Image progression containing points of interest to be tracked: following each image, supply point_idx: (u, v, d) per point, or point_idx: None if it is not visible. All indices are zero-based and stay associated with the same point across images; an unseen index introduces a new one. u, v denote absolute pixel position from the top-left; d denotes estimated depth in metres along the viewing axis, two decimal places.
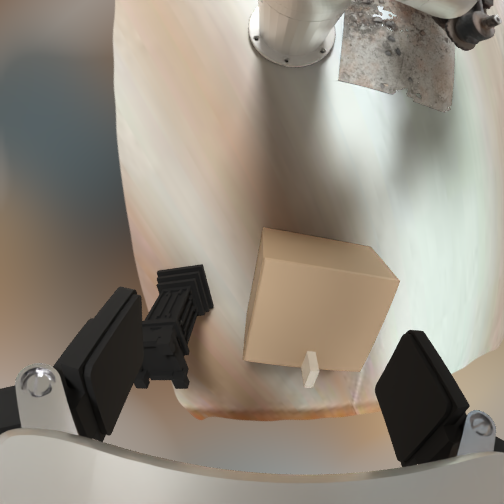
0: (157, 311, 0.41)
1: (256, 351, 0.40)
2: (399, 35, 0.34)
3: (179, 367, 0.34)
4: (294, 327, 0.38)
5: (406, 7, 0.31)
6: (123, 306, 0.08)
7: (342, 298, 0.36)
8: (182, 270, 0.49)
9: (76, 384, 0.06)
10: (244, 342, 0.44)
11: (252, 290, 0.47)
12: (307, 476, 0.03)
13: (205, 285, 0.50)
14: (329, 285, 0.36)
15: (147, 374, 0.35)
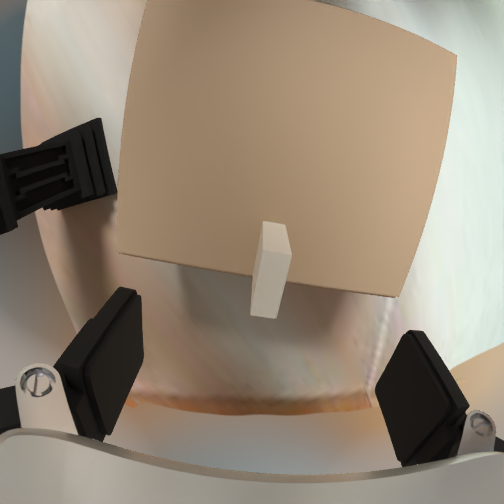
0: None
1: (138, 222, 0.16)
2: None
3: None
4: (222, 142, 0.14)
5: None
6: (123, 306, 0.08)
7: (337, 64, 0.13)
8: (71, 130, 0.25)
9: (76, 384, 0.06)
10: None
11: None
12: (307, 476, 0.03)
13: (102, 151, 0.26)
14: (298, 29, 0.12)
15: None
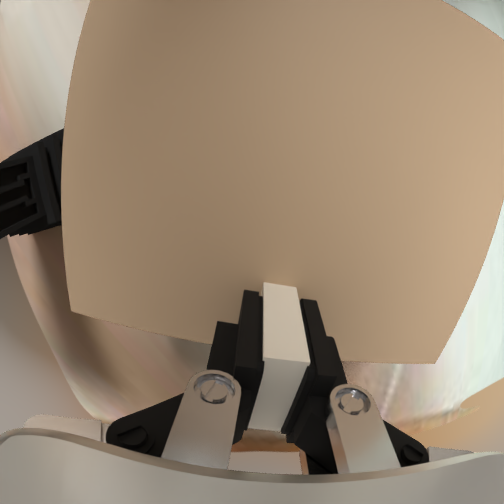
0: None
1: (91, 277, 0.11)
2: None
3: None
4: (201, 165, 0.09)
5: None
6: None
7: (377, 48, 0.08)
8: None
9: (245, 383, 0.07)
10: None
11: None
12: (307, 476, 0.03)
13: None
14: None
15: None
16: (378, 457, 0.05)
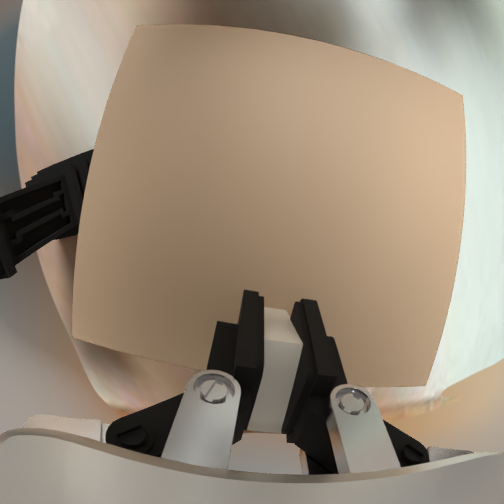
0: None
1: (97, 302, 0.12)
2: None
3: None
4: (205, 202, 0.12)
5: None
6: None
7: (342, 108, 0.12)
8: (66, 161, 0.25)
9: (245, 384, 0.07)
10: None
11: None
12: (307, 476, 0.03)
13: None
14: (296, 68, 0.12)
15: None
16: (378, 457, 0.05)
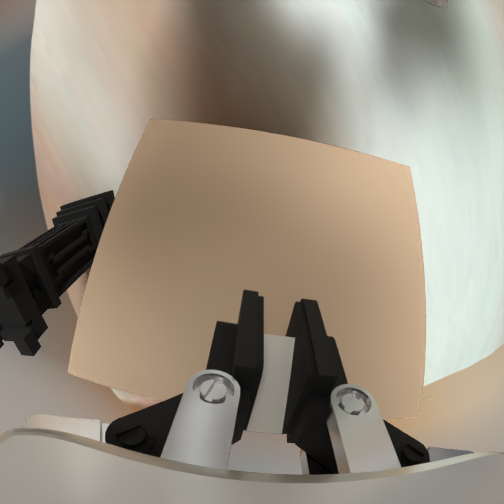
0: None
1: (98, 339, 0.12)
2: None
3: (21, 318, 0.17)
4: (203, 256, 0.14)
5: None
6: (257, 307, 0.09)
7: (310, 185, 0.17)
8: (87, 200, 0.32)
9: (245, 383, 0.07)
10: None
11: None
12: (307, 476, 0.03)
13: None
14: (274, 157, 0.17)
15: (0, 331, 0.18)
16: (379, 457, 0.05)
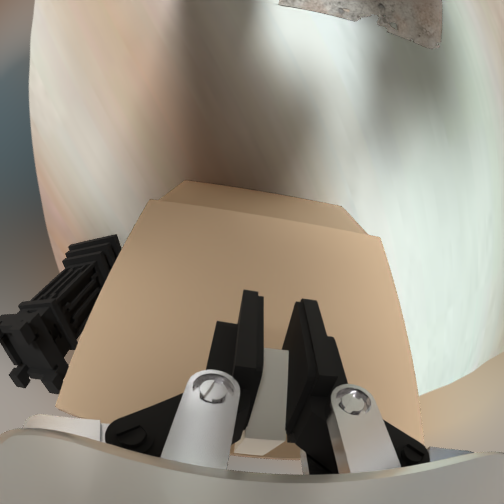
0: (49, 291, 0.28)
1: (91, 377, 0.12)
2: None
3: (48, 365, 0.21)
4: (197, 310, 0.15)
5: None
6: (257, 307, 0.09)
7: (291, 255, 0.19)
8: (93, 242, 0.36)
9: (245, 383, 0.07)
10: None
11: None
12: (307, 476, 0.03)
13: None
14: (258, 233, 0.20)
15: (26, 370, 0.22)
16: (379, 457, 0.05)
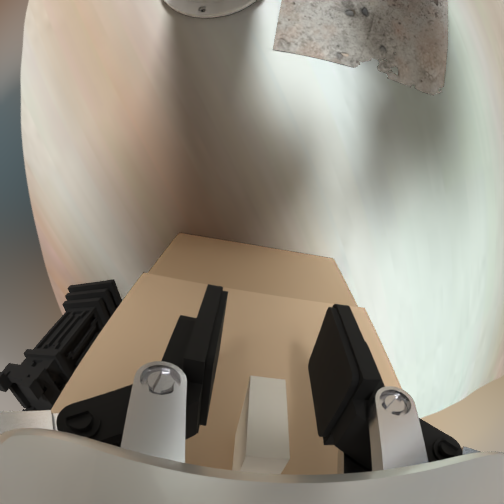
0: (51, 337, 0.29)
1: None
2: None
3: None
4: None
5: None
6: (219, 302, 0.09)
7: (280, 324, 0.19)
8: (92, 286, 0.36)
9: (195, 377, 0.07)
10: None
11: None
12: (307, 476, 0.03)
13: None
14: (247, 306, 0.21)
15: None
16: (424, 452, 0.05)
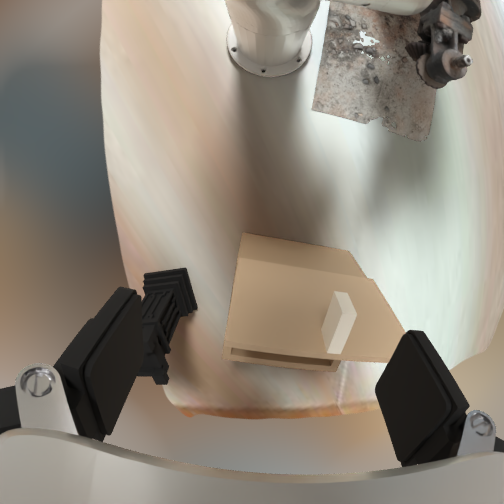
0: None
1: (243, 327, 0.24)
2: (379, 62, 0.37)
3: (158, 364, 0.36)
4: (289, 303, 0.29)
5: (390, 32, 0.35)
6: (123, 306, 0.08)
7: (327, 284, 0.34)
8: (167, 273, 0.51)
9: (76, 384, 0.06)
10: None
11: None
12: (307, 476, 0.03)
13: (189, 287, 0.52)
14: (307, 275, 0.35)
15: None
16: None
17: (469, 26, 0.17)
